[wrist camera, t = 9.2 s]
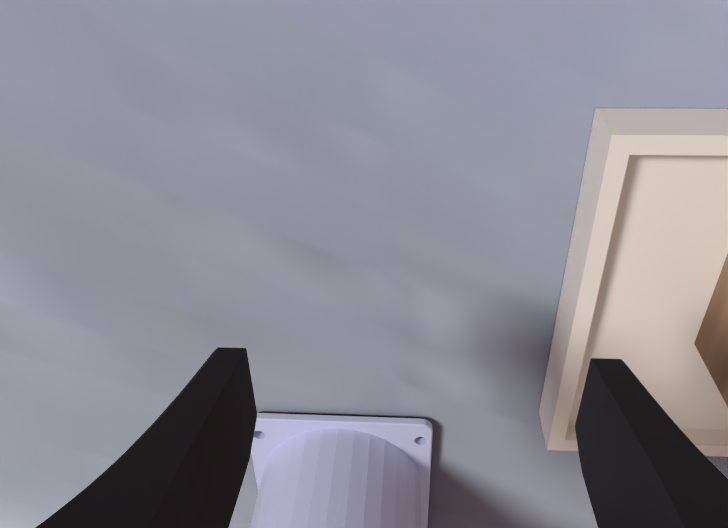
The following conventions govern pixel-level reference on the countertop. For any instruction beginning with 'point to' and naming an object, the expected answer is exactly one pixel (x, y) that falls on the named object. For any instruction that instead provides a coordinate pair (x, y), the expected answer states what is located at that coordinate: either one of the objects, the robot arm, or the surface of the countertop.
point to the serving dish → (644, 268)
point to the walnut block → (716, 334)
